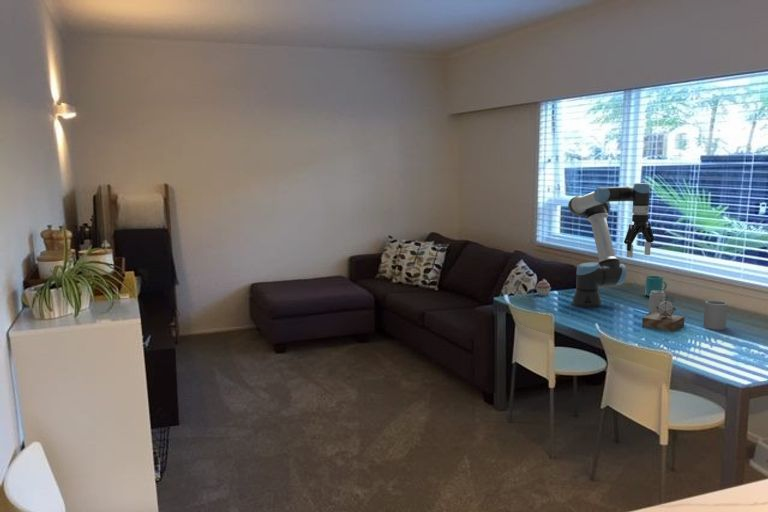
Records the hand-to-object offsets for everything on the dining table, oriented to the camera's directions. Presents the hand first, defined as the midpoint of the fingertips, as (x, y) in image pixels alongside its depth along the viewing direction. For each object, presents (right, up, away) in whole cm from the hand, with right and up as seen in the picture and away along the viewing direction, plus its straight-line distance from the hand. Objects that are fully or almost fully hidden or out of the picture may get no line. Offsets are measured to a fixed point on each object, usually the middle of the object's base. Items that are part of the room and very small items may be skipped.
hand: (638, 256), depth 300 cm
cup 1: (+31, -24, +48) cm, 61 cm away
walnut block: (+5, -34, -16) cm, 38 cm away
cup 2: (+27, -34, -20) cm, 48 cm away
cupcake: (-34, -24, +55) cm, 68 cm away
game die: (+2, -29, -17) cm, 34 cm away
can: (+12, -30, +7) cm, 33 cm away
